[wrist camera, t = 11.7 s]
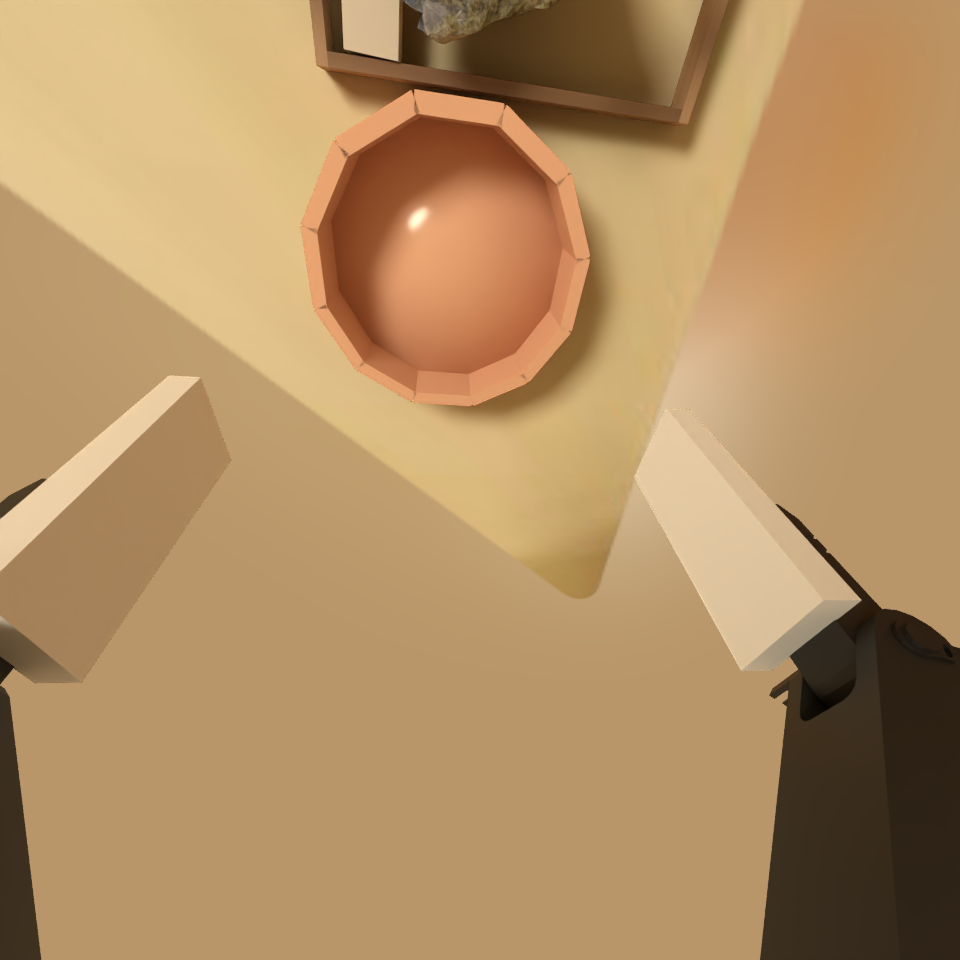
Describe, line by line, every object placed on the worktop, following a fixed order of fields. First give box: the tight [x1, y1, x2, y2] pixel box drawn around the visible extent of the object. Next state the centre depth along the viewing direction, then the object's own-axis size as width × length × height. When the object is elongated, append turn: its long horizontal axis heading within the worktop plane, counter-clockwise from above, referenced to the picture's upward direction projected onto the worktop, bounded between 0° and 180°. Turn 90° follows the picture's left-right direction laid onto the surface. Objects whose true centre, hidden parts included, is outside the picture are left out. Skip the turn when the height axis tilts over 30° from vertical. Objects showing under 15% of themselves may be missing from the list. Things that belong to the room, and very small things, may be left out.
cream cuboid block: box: [341, 0, 403, 63], centre depth 21 cm, size 4×3×2 cm
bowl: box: [301, 89, 590, 406], centre depth 28 cm, size 18×18×4 cm
